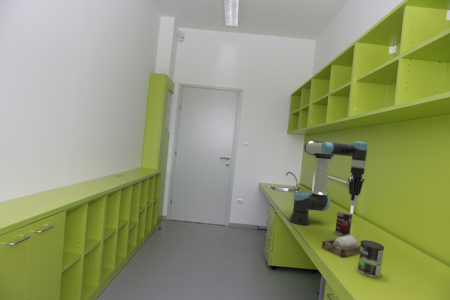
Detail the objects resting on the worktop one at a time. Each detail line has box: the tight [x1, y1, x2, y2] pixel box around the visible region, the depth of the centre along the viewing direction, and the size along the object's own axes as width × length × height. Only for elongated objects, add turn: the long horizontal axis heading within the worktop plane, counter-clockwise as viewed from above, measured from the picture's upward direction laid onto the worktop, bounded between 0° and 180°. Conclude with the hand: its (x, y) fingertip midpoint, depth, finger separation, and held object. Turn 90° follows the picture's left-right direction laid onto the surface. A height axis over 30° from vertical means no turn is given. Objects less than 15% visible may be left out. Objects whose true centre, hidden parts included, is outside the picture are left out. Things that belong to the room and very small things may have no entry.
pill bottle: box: [333, 234, 358, 249], centre depth 160 cm, size 8×8×15 cm
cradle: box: [321, 238, 360, 259], centre depth 159 cm, size 14×20×4 cm
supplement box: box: [334, 211, 353, 237], centre depth 188 cm, size 9×5×16 cm, turn 40°
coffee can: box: [357, 239, 385, 278], centre depth 133 cm, size 10×10×14 cm
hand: (353, 205), depth 164 cm, fingers closed
